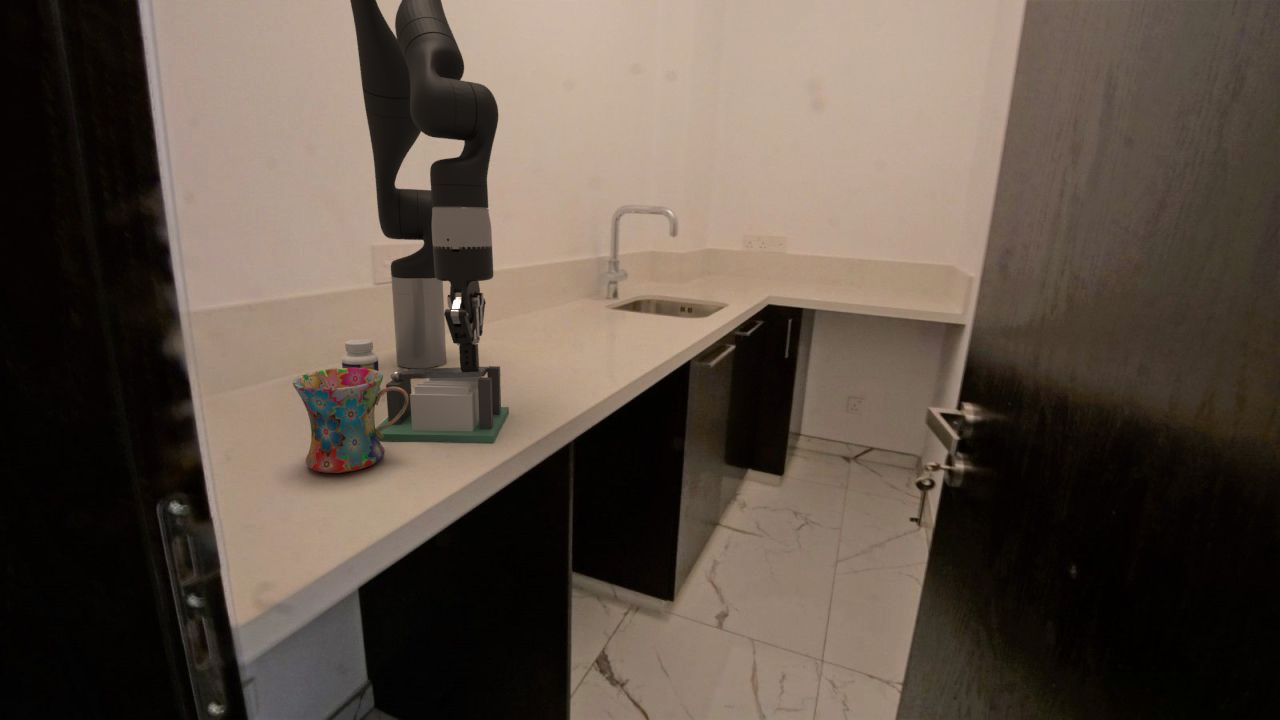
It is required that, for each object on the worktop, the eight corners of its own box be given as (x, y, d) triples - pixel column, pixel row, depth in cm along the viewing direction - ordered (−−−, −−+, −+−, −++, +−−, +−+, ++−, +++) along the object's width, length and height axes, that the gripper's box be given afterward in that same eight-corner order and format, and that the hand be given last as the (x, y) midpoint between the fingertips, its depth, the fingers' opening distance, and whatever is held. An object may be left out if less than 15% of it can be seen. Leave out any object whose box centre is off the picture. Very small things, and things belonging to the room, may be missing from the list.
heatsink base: (401, 411, 88) (398, 360, 86) (508, 413, 89) (507, 362, 87) (369, 440, 77) (365, 382, 75) (493, 443, 78) (491, 385, 76)
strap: (398, 375, 82) (397, 368, 82) (487, 372, 83) (487, 365, 83) (391, 380, 80) (390, 373, 79) (483, 377, 80) (483, 370, 80)
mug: (290, 482, 65) (280, 390, 62) (315, 450, 73) (307, 368, 71) (406, 475, 67) (400, 387, 65) (417, 445, 76) (412, 366, 74)
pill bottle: (366, 400, 93) (362, 346, 90) (337, 397, 94) (332, 343, 91) (387, 391, 98) (383, 339, 96) (359, 388, 99) (355, 337, 97)
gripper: (447, 241, 83) (455, 360, 87) (417, 244, 70) (428, 383, 74) (500, 242, 84) (505, 360, 88) (480, 245, 71) (487, 383, 75)
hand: (470, 370), depth 81 cm, fingers closed
